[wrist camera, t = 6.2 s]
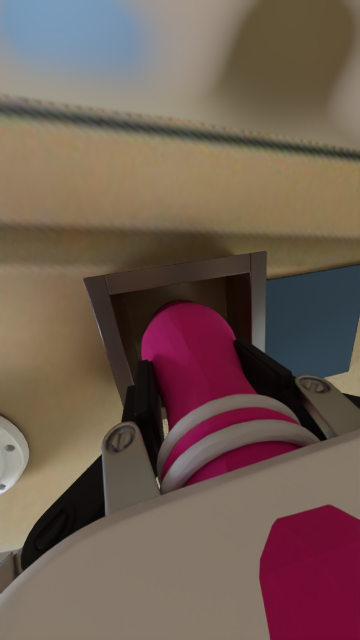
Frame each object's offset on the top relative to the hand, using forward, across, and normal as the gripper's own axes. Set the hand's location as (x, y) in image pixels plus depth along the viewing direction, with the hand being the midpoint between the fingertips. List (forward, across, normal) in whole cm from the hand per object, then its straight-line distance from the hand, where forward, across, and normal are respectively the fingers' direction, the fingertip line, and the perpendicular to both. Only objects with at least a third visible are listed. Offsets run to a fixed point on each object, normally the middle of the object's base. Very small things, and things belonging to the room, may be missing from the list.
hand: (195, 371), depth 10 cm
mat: (+7, -15, +3) cm, 17 cm away
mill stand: (+7, -1, 0) cm, 7 cm away
